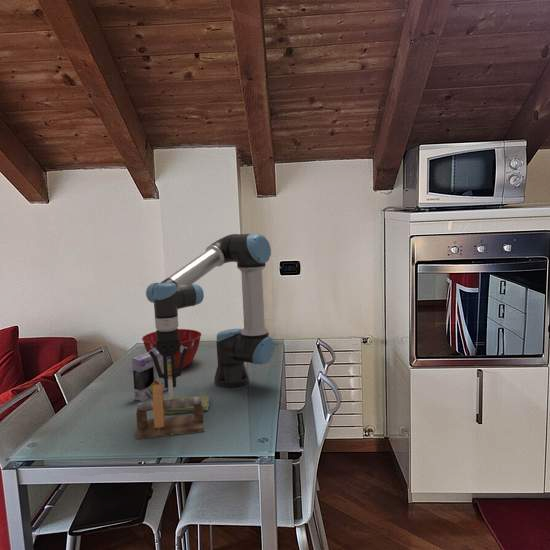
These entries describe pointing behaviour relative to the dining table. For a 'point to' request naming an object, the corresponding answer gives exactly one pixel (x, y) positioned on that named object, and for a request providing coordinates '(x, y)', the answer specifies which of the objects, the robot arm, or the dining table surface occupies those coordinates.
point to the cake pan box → (148, 375)
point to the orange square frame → (158, 406)
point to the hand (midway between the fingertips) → (171, 396)
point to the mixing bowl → (186, 339)
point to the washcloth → (187, 409)
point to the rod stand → (170, 418)
